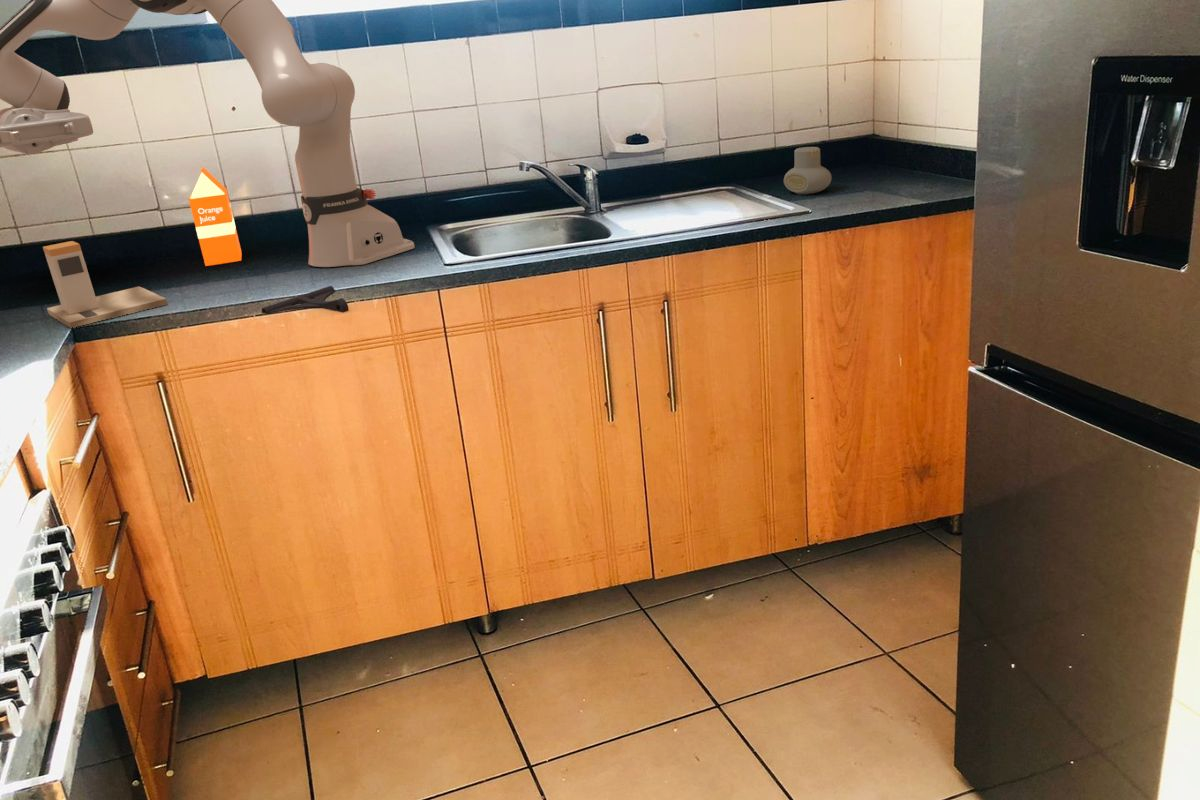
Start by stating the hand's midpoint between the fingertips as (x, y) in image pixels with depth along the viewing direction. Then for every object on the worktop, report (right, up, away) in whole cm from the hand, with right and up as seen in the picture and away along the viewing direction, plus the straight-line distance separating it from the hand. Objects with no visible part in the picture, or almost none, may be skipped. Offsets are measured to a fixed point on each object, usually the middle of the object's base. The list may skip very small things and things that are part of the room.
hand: (43, 132), depth 179 cm
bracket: (+56, -35, -12) cm, 67 cm away
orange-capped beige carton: (+9, -34, -3) cm, 35 cm away
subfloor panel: (+12, -33, 0) cm, 36 cm away
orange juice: (+21, -19, +33) cm, 44 cm away
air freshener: (+154, -2, +44) cm, 160 cm away
